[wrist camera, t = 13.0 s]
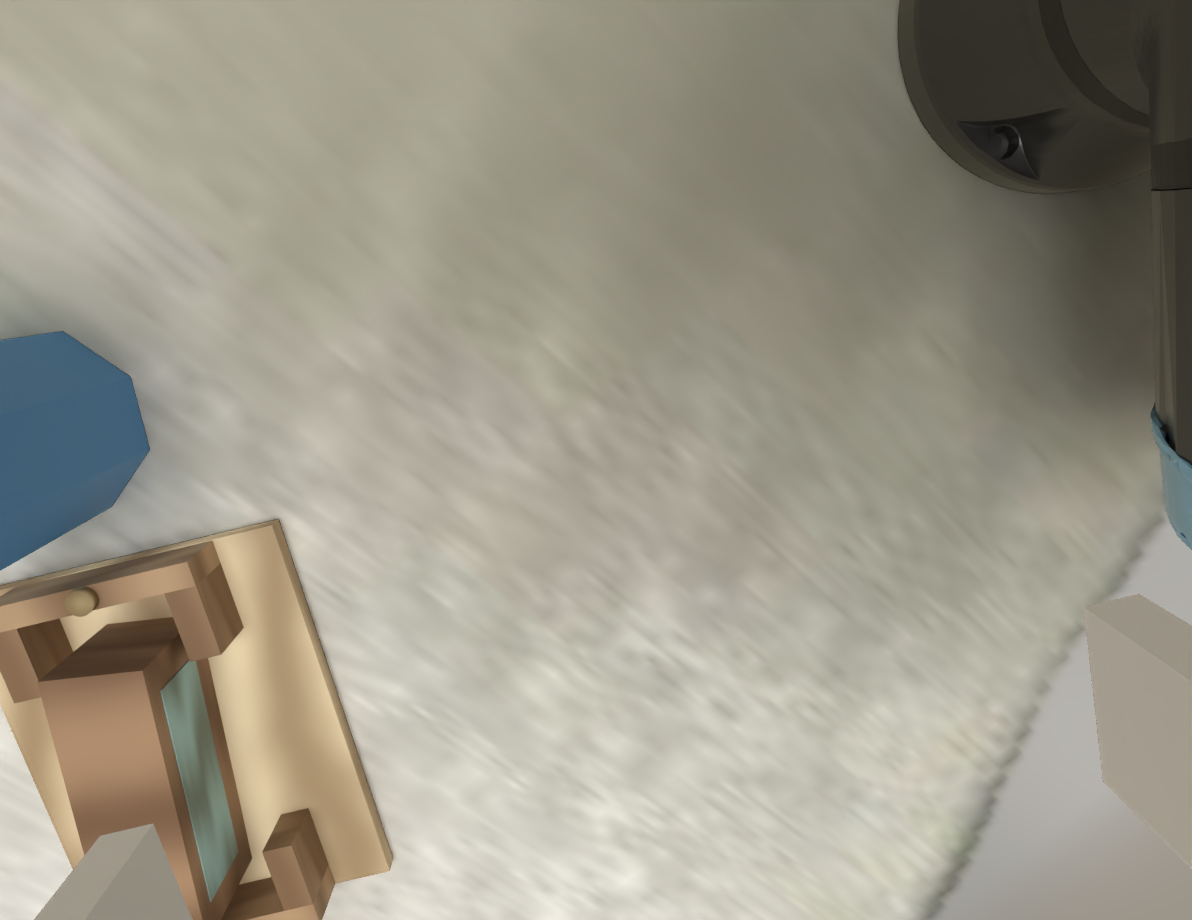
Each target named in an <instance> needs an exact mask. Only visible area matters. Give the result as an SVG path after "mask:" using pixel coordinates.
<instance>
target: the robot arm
mask: <svg viewBox="0 0 1192 920" xmlns="http://www.w3.org/2000/svg"><path fill="white" fill-rule="evenodd" d="M898 40H899V52H900V60H901V66H902V71H903V75H904V79H905V83H906V86H907V89H908V92H909V95H910V98H911V100H912V102H913V105H914V107H915V109H916V111H917V113H918V115H919V117H920V119H921V121H922V122H923V124H924V125H925V127H926V129H927V130H928V131H929V133H930V134H931V136H932V137H933V138H934V140H935V141H936V142H937V143H938V144H939V145H940V147H941V148H942V149H943V150H944V151H945V152H946V153H947V154H948V155H949V156H950V157H951V158H953V159H954V160H955V161H956V162H957V163H959V164H960V165H961V166H963V167H964V168H966V169H967V170H968V171H970V172H972V173H973V174H975V175H977V176H978V177H980V178H982V179H985V180H987V181H989V182H991V183H994V184H996V185H999V186H1002V187H1005V188H1009V189H1012V190H1017V191H1023V192H1031V193H1062V192H1071V191H1080V190H1088V189H1095V188H1100V187H1105V186H1109V185H1112V184H1116V183H1119V182H1122V181H1125V180H1127V179H1130V178H1133V177H1135V176H1138V175H1140V174H1142V173H1144V172H1147V171H1149V170H1152V189H1151V201H1152V232H1153V279H1154V342H1155V404H1154V407H1153V409H1152V412H1151V419H1150V422H1151V430H1152V433H1153V436H1154V439H1155V441H1156V443H1157V445H1158V446H1159V448H1160V458H1161V469H1162V481H1163V493H1164V503H1165V508H1166V512H1167V515H1168V518H1169V521H1170V523H1171V525H1172V527H1173V528H1174V530H1175V532H1176V534H1177V536H1178V537H1179V538H1180V539H1181V540H1182V541H1183V542H1184V543H1185V544H1186V545H1187V546H1188V547H1189V548H1191V550H1192V0H900V8H899V21H898ZM1083 608H1084V617H1085V626H1086V635H1087V643H1088V652H1089V660H1090V669H1091V679H1092V688H1093V697H1094V705H1095V715H1096V724H1097V733H1098V741H1099V750H1100V759H1101V769H1102V778H1103V782H1104V783H1105V784H1106V785H1107V786H1108V787H1109V788H1110V789H1111V790H1112V791H1113V792H1114V793H1115V794H1116V795H1117V796H1118V797H1119V798H1120V799H1121V800H1122V801H1123V802H1124V803H1125V804H1126V805H1127V806H1128V807H1129V808H1130V809H1131V810H1132V811H1133V812H1134V813H1135V814H1136V815H1137V816H1138V817H1139V818H1140V819H1141V820H1142V821H1144V822H1145V823H1146V824H1147V825H1148V826H1149V827H1150V828H1151V829H1152V830H1153V831H1154V832H1155V833H1156V834H1157V835H1158V836H1159V837H1160V838H1161V839H1162V840H1163V841H1164V842H1165V843H1166V844H1167V845H1168V846H1169V847H1170V848H1171V849H1172V850H1173V851H1174V852H1175V853H1176V854H1177V855H1178V856H1179V857H1180V858H1181V859H1182V860H1183V861H1184V862H1185V863H1186V864H1187V865H1188V866H1189V867H1190V868H1191V869H1192V626H1191V625H1189V624H1188V623H1186V622H1185V621H1182V620H1181V619H1179V618H1178V617H1176V616H1175V615H1173V614H1171V613H1170V612H1168V611H1166V610H1165V609H1163V608H1161V607H1160V606H1158V605H1156V604H1155V603H1153V602H1151V601H1150V600H1148V599H1146V598H1145V597H1143V596H1141V595H1139V594H1137V595H1133V596H1129V597H1124V598H1120V599H1115V600H1111V601H1107V602H1103V603H1098V604H1094V605H1090V606H1085V607H1083ZM34 920H193V919H192V917H191V915H190V912H189V910H188V907H187V905H186V902H185V900H184V897H183V895H182V893H181V890H180V888H179V885H178V883H177V880H176V878H175V875H174V873H173V871H172V868H171V866H170V863H169V861H168V858H167V856H166V854H165V851H164V849H163V846H162V844H161V841H160V839H159V836H158V834H157V832H156V829H155V827H154V824H149V825H144V826H140V827H136V828H131V829H127V830H123V831H119V832H114V833H110V834H106V835H101V836H100V837H99V838H98V839H97V840H96V842H95V843H94V844H93V845H92V847H91V848H90V849H89V851H88V852H87V853H86V854H85V856H84V857H83V858H82V859H81V861H80V862H79V863H78V865H77V866H76V867H75V868H74V870H73V871H72V872H71V873H70V875H69V876H68V877H67V878H66V880H65V881H64V882H63V884H62V885H61V886H60V887H59V889H58V890H57V891H56V892H55V894H54V895H53V896H52V898H51V899H50V900H49V901H48V903H47V904H46V905H45V906H44V908H43V909H42V910H41V912H40V913H39V914H38V915H37V917H36V918H35V919H34Z"/></svg>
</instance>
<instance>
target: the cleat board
mask: <svg viewBox="0 0 1192 920" xmlns="http://www.w3.org/2000/svg"><path fill="white" fill-rule="evenodd" d="M169 617H173V618H174V621H175V624H176V626H177V629H178V632H179V634H180V637H181V639H182V642H183V645H184V647H185V650H186V653H187V655H188V658H189V661H190V662H193V661H197V660H201V659H205V658H208V660H209V665H210V669H211V674H212V679H213V683H214V688H215V692H216V697H217V701H218V706H219V710H220V715H221V719H222V724H223V728H224V733H225V737H226V742H227V747H228V751H229V756H230V760H231V765H232V769H233V774H234V778H235V783H236V787H237V792H238V796H239V801H240V805H241V810H242V814H243V819H244V824H245V828H246V833H247V837H248V842H249V846H250V851H251V855H252V860H251V862H250V864H249V866H248V868H247V870H246V872H245V874H244V876H243V878H242V880H241V882H240V883H239V885H238V887H237V889H236V891H235V893H234V895H233V897H232V899H231V901H230V903H229V905H228V907H227V909H226V911H225V913H224V915H223V917H222V919H221V920H322V918H323V916H324V913H325V910H326V907H327V904H328V902H329V899H330V896H331V893H332V890H333V888H334V885H335V883H340V882H344V881H348V880H353V879H357V878H361V877H366V876H370V875H374V874H379V873H383V872H387V871H390V868H391V864H392V861H393V857H392V854H391V851H390V848H389V845H388V842H387V839H386V836H385V833H384V830H383V827H382V824H381V821H380V818H379V815H378V812H377V809H376V806H375V803H374V800H373V797H372V794H371V792H370V789H369V786H368V783H367V780H366V777H365V774H364V771H363V768H362V765H361V762H360V759H359V756H358V753H357V750H356V747H355V744H354V741H353V738H352V735H351V732H350V729H349V726H348V723H347V721H346V718H345V715H344V712H343V709H342V706H341V703H340V700H339V697H338V694H337V691H336V688H335V685H334V682H333V679H332V676H331V673H330V670H329V667H328V664H327V661H326V658H325V655H324V652H323V649H322V647H321V644H320V641H319V638H318V635H317V632H316V629H315V626H314V623H313V620H312V617H311V614H310V611H309V608H308V605H307V602H306V599H305V596H304V593H303V590H302V587H301V584H300V581H299V578H298V576H297V573H296V570H295V567H294V564H293V561H292V558H291V555H290V552H289V549H288V546H287V543H286V540H285V537H284V534H283V531H282V528H281V525H280V522H279V519H277V520H272V521H268V522H264V523H260V524H256V525H252V526H247V527H243V528H239V529H235V530H231V531H226V532H222V533H218V534H214V535H210V536H205V537H201V538H197V539H193V540H189V541H185V542H180V543H176V544H172V545H168V546H164V547H159V548H155V549H151V550H147V551H143V552H138V553H134V554H130V555H126V556H122V557H118V558H113V559H109V560H105V561H101V562H97V563H92V564H88V565H84V566H80V567H76V568H71V569H67V570H63V571H59V572H55V573H51V574H46V575H42V576H38V577H34V578H30V579H25V580H21V581H17V582H13V583H9V584H4V585H0V705H1V707H2V709H3V712H4V714H5V716H6V718H7V721H8V723H9V725H10V727H11V730H12V732H13V734H14V737H15V739H16V741H17V743H18V746H19V748H20V750H21V752H22V755H23V757H24V759H25V762H26V764H27V766H28V768H29V771H30V773H31V775H32V777H33V780H34V782H35V784H36V787H37V789H38V791H39V793H40V796H41V798H42V800H43V802H44V805H45V807H46V809H47V811H48V814H49V816H50V818H51V821H52V823H53V825H54V827H55V830H56V832H57V834H58V836H59V839H60V841H61V843H62V846H63V848H64V850H65V852H66V855H67V857H68V859H69V861H70V864H71V866H72V868H73V870H74V868H75V867H76V866H77V865H78V863H79V862H80V861H81V859H82V858H83V857H84V853H83V849H82V845H81V842H80V838H79V834H78V831H77V827H76V823H75V820H74V816H73V812H72V808H71V805H70V801H69V797H68V794H67V790H66V786H65V783H64V779H63V775H62V772H61V768H60V764H59V761H58V757H57V753H56V750H55V746H54V742H53V739H52V735H51V731H50V728H49V724H48V720H47V717H46V713H45V709H44V706H43V702H42V698H41V695H40V691H39V687H38V684H37V682H38V681H39V680H40V679H41V678H42V677H44V676H45V675H46V674H47V673H49V672H50V671H51V670H52V669H53V668H55V667H56V666H57V665H58V664H59V663H61V662H62V661H63V660H64V659H65V658H67V657H68V656H69V655H70V654H72V653H73V652H74V651H75V650H76V649H78V648H79V647H80V646H81V645H82V644H84V643H85V642H86V641H87V640H88V639H90V638H91V637H92V636H93V635H95V634H96V633H97V632H98V631H99V630H101V629H102V628H103V627H104V626H105V625H107V624H113V623H122V622H131V621H141V620H150V619H160V618H169Z"/></svg>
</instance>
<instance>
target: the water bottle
mask: <svg viewBox="0 0 1192 920" xmlns="http://www.w3.org/2000/svg"><path fill="white" fill-rule="evenodd" d="M149 450H150V449H149V445H148V441H147V437H146V434H145V430H144V426H143V422H142V418H141V415H140V411H139V407H138V403H137V399H136V396H135V392H134V388H133V384H132V381H131V377H130V376H129V375H127V374H126V373H124V372H123V371H121V370H120V369H118V368H117V367H115V366H114V365H112V364H111V363H109V362H108V361H106V360H105V359H103V358H102V357H100V356H99V355H97V354H96V353H94V352H93V351H91V350H90V349H89V348H87V347H86V346H84V345H83V344H81V343H80V342H78V341H77V340H75V339H74V338H72V337H71V336H69V335H68V334H66V333H65V332H63V331H60V332H53V333H46V334H39V335H32V336H25V337H18V338H11V339H4V340H0V570H2V569H4V568H6V567H7V566H9V565H11V564H13V563H14V562H16V561H18V560H20V559H21V558H23V557H25V556H27V555H28V554H30V553H32V552H34V551H35V550H37V549H39V548H41V547H42V546H44V545H46V544H48V543H49V542H51V541H53V540H55V539H56V538H58V537H60V536H62V535H63V534H65V533H67V532H69V531H70V530H72V529H74V528H76V527H77V526H79V525H81V524H83V523H84V522H86V521H88V520H90V519H91V518H93V517H95V516H97V515H98V514H100V513H102V512H104V511H105V510H107V509H109V508H111V507H112V506H113V504H114V503H115V501H116V500H117V498H118V497H119V495H120V494H121V492H122V491H123V489H124V488H125V486H126V485H127V483H128V482H129V480H130V479H131V477H132V476H133V474H134V473H135V471H136V470H137V468H138V467H139V465H140V464H141V462H142V461H143V459H144V458H145V456H146V455H147V453H148V452H149Z"/></svg>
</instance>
